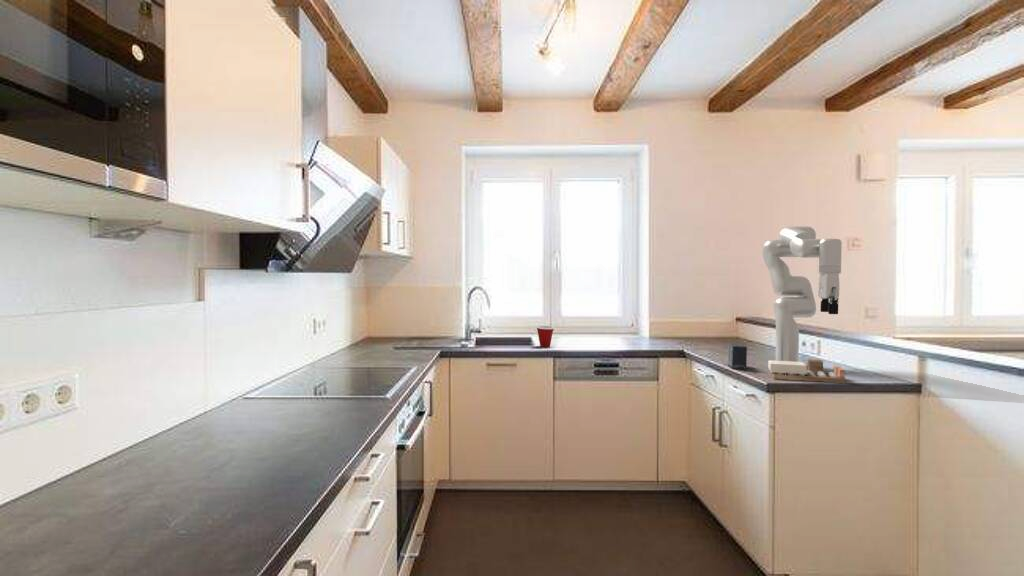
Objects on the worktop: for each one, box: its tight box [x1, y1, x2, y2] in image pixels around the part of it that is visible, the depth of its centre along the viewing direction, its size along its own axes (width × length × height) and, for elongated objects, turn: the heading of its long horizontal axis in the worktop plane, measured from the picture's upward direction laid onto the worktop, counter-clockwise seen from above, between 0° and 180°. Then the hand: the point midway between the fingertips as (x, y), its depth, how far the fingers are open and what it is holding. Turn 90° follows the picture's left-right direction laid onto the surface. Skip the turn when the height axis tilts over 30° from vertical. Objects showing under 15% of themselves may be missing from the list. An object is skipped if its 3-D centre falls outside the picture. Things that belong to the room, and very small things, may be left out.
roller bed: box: [769, 364, 846, 384], centre depth 211 cm, size 12×25×5 cm, turn 69°
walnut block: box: [806, 358, 824, 372], centre depth 218 cm, size 5×5×6 cm
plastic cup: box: [535, 324, 555, 348], centre depth 303 cm, size 11×11×12 cm
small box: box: [727, 342, 748, 370], centre depth 235 cm, size 11×6×10 cm, turn 168°
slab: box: [767, 359, 807, 374], centre depth 213 cm, size 8×13×4 cm, turn 69°
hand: (829, 312), depth 205 cm, fingers open, 9 cm apart
